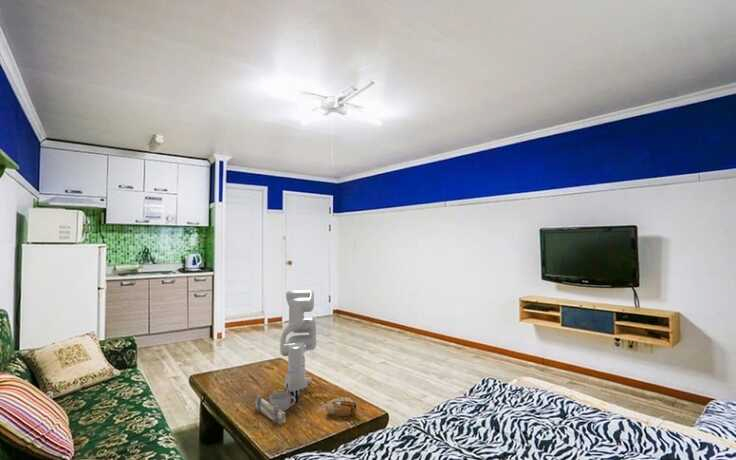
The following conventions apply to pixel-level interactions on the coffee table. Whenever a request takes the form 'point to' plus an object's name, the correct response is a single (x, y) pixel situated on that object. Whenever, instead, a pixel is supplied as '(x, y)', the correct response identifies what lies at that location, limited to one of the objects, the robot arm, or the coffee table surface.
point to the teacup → (282, 400)
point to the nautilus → (342, 407)
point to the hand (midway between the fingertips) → (295, 402)
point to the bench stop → (270, 410)
